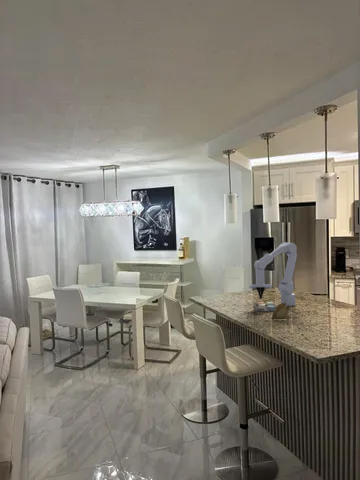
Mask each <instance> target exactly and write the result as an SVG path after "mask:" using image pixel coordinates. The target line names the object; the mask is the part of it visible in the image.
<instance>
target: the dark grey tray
mask: <svg viewBox="0 0 360 480" xmlns="http://www.w3.org/2000/svg"><path fill="white" fill-rule="evenodd" d="M273 305H274V307H275V310H276V308H277V305H276V304H275V303H273ZM253 307H254V309H255V312H256V313H273V312H274V311H275V310H268V306H267V304H265V308H263V309H259V307H258V304H254V306H253Z"/></svg>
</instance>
